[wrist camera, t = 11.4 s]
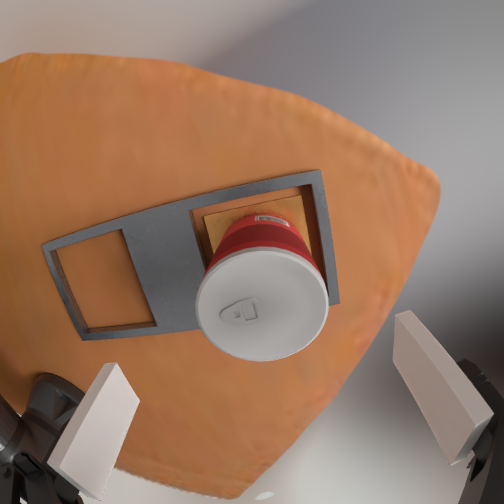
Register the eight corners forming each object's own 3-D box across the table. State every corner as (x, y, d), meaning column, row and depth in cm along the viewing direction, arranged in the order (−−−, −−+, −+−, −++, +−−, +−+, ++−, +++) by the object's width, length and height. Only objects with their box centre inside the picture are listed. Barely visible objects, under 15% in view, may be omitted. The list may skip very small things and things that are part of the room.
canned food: (203, 238, 26) (168, 290, 16) (279, 195, 25) (293, 222, 14) (245, 302, 28) (237, 378, 18) (317, 265, 27) (348, 330, 16)
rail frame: (86, 335, 31) (82, 340, 30) (47, 242, 27) (41, 245, 26) (337, 297, 28) (339, 303, 27) (318, 169, 24) (320, 170, 23)
